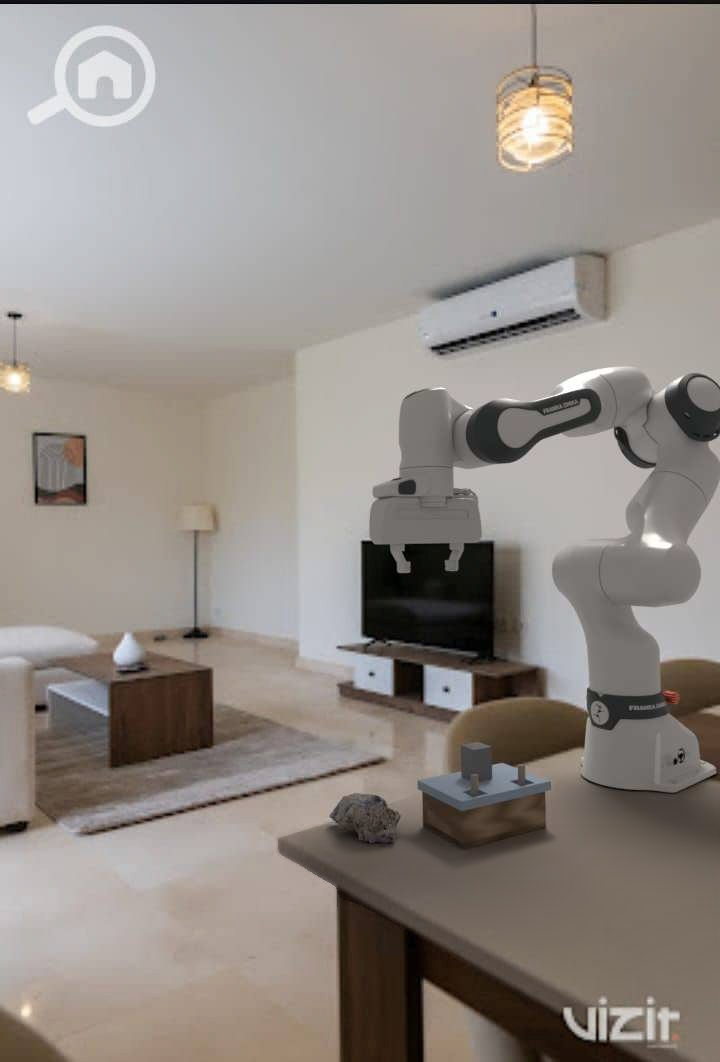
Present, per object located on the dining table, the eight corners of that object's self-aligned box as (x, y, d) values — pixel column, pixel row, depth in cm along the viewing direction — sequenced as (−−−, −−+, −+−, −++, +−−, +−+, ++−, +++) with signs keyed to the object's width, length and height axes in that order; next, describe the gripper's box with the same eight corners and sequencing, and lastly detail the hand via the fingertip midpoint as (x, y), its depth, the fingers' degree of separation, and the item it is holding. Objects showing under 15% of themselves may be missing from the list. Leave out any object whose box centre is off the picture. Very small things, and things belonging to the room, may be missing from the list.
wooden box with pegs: (502, 807, 109) (501, 748, 109) (546, 826, 101) (544, 763, 101) (423, 826, 102) (421, 764, 102) (462, 849, 94) (461, 781, 94)
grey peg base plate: (502, 771, 110) (501, 732, 110) (550, 790, 101) (549, 748, 101) (417, 789, 102) (416, 748, 102) (461, 811, 93) (460, 766, 94)
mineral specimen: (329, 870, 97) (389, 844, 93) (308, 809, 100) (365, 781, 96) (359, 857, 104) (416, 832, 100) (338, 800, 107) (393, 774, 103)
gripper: (465, 489, 129) (467, 569, 129) (363, 487, 119) (365, 573, 119) (489, 487, 124) (490, 570, 124) (383, 484, 114) (385, 574, 114)
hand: (428, 571), depth 121 cm, fingers open, 8 cm apart
